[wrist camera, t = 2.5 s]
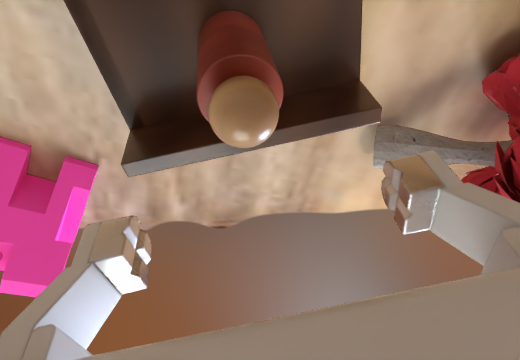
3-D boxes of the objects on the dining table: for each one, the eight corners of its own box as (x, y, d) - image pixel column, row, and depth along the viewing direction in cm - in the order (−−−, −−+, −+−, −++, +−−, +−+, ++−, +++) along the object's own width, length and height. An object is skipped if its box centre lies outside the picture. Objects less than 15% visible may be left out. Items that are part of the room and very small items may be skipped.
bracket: (78, 229, 46) (53, 299, 38) (-13, 210, 42) (-62, 284, 34) (98, 165, 39) (74, 234, 32) (-7, 135, 35) (-64, 205, 28)
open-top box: (152, 79, 34) (128, 178, 22) (104, -37, 27) (36, 20, 16) (320, 42, 33) (381, 122, 22) (314, -85, 27) (396, -61, 15)
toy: (207, 83, 23) (211, 179, 16) (188, 18, 20) (182, 98, 13) (268, 69, 23) (300, 159, 16) (257, 3, 20) (291, 74, 13)
